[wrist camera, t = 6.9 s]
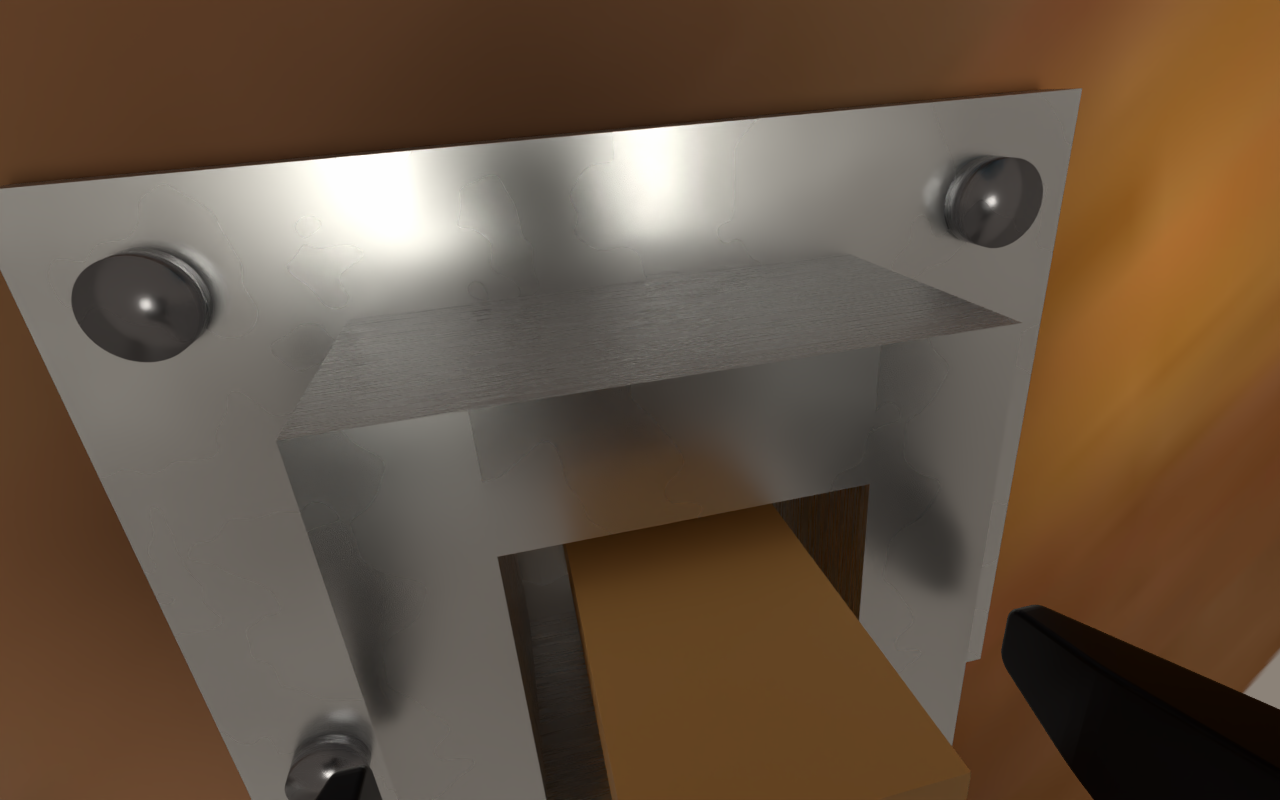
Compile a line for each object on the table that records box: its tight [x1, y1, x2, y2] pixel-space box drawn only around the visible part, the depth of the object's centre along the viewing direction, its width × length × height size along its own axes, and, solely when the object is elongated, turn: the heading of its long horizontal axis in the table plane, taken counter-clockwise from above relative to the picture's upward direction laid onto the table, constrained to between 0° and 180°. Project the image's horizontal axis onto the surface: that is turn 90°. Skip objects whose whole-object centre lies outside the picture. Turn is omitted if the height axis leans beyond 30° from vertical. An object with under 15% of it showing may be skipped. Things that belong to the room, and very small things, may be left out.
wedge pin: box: [563, 503, 971, 800], centre depth 10 cm, size 3×3×8 cm
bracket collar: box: [0, 88, 1082, 800], centre depth 12 cm, size 14×18×6 cm
